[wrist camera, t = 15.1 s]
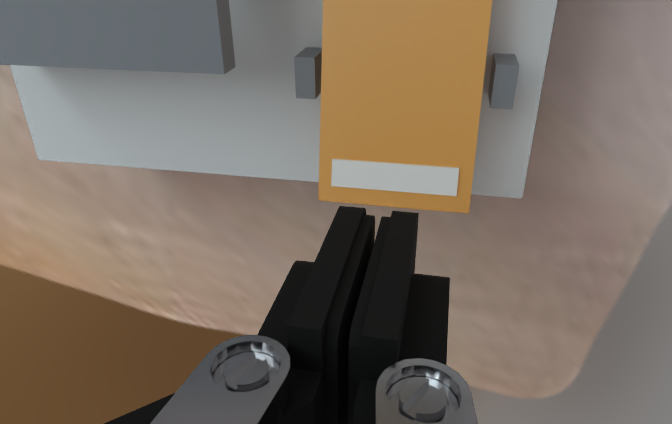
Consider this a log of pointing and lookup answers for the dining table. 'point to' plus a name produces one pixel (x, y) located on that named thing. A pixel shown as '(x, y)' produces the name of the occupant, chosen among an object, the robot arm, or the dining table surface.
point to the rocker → (401, 101)
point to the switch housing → (232, 85)
